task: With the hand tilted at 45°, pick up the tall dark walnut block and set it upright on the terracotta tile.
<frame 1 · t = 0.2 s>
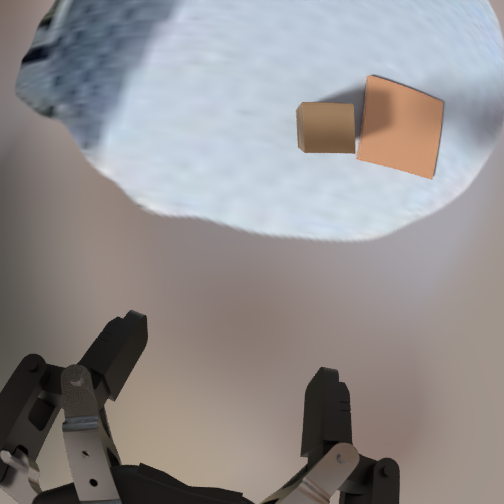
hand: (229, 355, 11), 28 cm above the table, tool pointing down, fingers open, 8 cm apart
terracotta tile: (401, 127, 30), on the table
walnut block: (316, 128, 32), on the table
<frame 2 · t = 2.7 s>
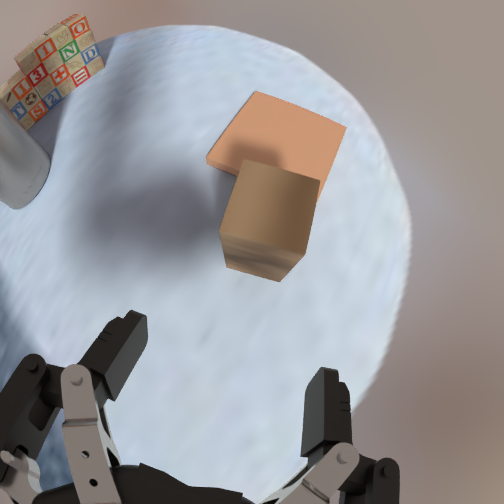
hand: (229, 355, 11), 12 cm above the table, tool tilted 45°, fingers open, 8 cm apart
terracotta tile: (281, 144, 29), on the table
stack of blocks: (52, 100, 31), on the table
walnut block: (260, 249, 25), on the table
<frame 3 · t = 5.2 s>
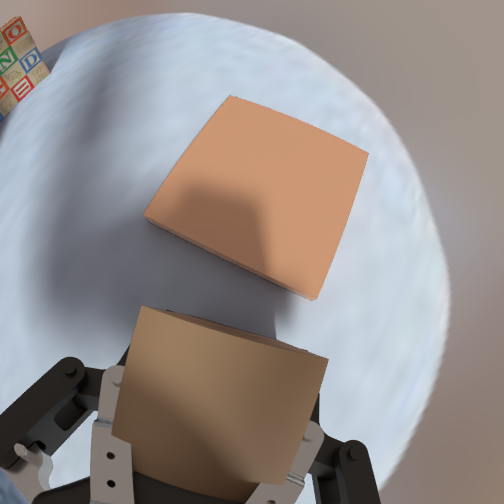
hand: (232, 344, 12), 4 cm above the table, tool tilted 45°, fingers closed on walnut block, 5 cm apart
terracotta tile: (265, 184, 19), on the table
walnut block: (225, 367, 15), on the table, touching gripper
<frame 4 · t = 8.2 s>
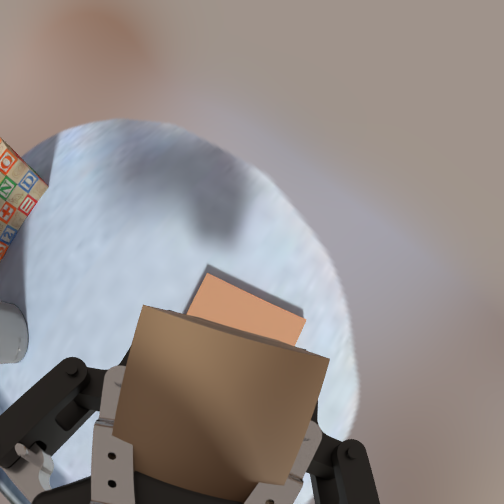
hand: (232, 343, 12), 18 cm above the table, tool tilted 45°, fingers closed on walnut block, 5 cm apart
terracotta tile: (232, 345, 29), on the table
stack of blocks: (9, 229, 31), on the table
walnut block: (226, 367, 15), point 14 cm above the table, touching gripper
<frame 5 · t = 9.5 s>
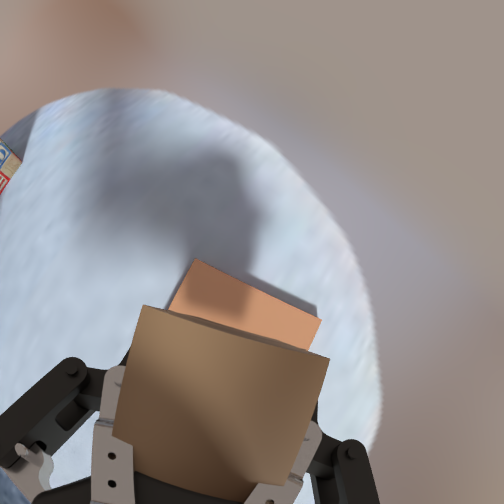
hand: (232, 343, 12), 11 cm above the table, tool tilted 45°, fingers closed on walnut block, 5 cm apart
terracotta tile: (227, 352, 22), on the table
walnut block: (226, 367, 15), point 7 cm above the table, touching gripper
when the fingers open (7 cm above the table, at t = 10.8 s): walnut block drops 1 cm, resting on terracotta tile.
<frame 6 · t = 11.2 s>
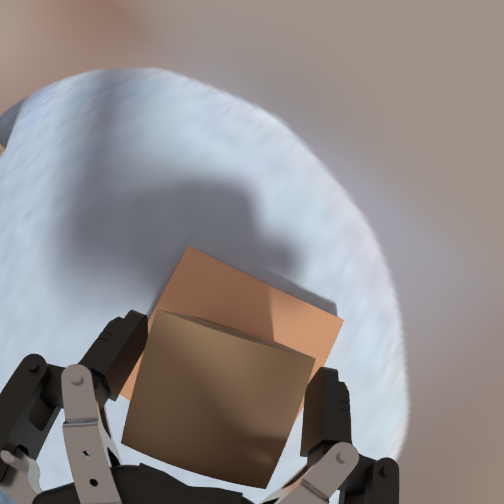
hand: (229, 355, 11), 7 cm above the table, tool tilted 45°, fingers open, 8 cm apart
terracotta tile: (227, 361, 18), on the table
walnut block: (226, 365, 17), point 1 cm above the table, touching terracotta tile
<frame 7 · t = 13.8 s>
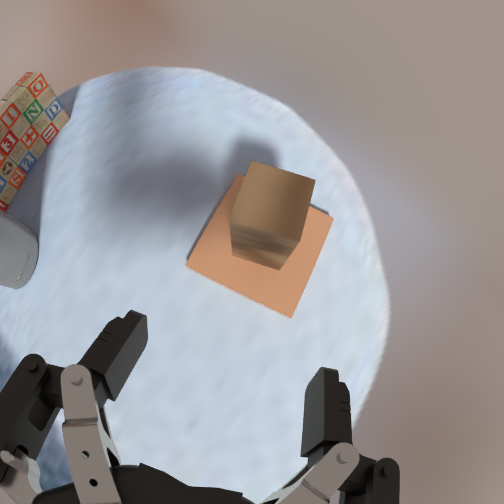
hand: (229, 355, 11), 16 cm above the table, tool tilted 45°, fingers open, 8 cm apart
terracotta tile: (262, 243, 30), on the table
stack of blocks: (26, 163, 32), on the table
walnut block: (263, 240, 28), point 1 cm above the table, touching terracotta tile
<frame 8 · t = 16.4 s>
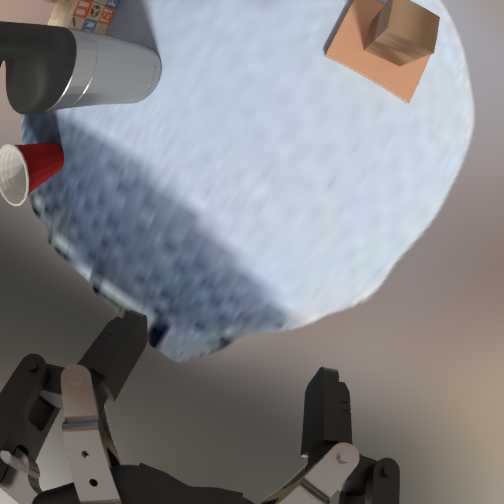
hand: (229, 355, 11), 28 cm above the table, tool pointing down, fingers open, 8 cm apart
terracotta tile: (383, 44, 24), on the table
stack of blocks: (107, 3, 24), on the table
plastic cup: (56, 157, 38), on the table
walnut block: (386, 43, 23), point 1 cm above the table, touching terracotta tile
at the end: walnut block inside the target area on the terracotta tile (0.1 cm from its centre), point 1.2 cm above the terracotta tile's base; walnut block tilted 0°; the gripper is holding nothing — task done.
